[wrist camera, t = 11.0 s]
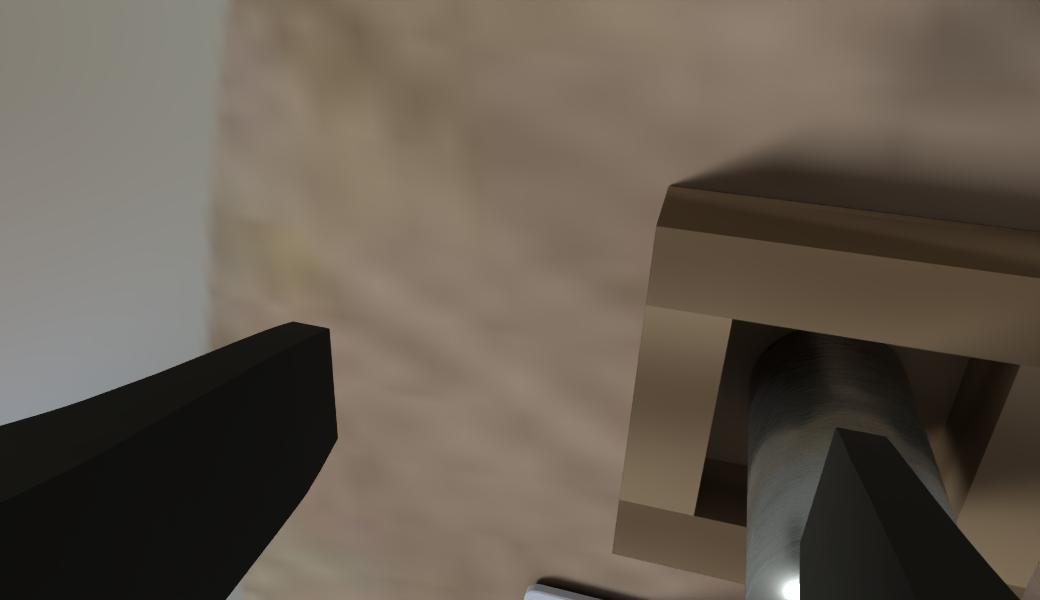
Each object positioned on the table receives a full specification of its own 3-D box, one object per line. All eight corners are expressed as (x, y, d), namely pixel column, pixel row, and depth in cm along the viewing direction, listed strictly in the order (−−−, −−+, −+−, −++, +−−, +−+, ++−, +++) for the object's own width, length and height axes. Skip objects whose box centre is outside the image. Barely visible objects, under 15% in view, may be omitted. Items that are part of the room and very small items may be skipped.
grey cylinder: (886, 464, 21) (951, 732, 14) (737, 436, 22) (728, 674, 15) (928, 338, 19) (1025, 574, 12) (763, 313, 20) (766, 519, 13)
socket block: (968, 558, 22) (998, 643, 19) (627, 485, 24) (612, 553, 21) (1106, 240, 17) (1169, 296, 15) (668, 185, 19) (656, 226, 17)
